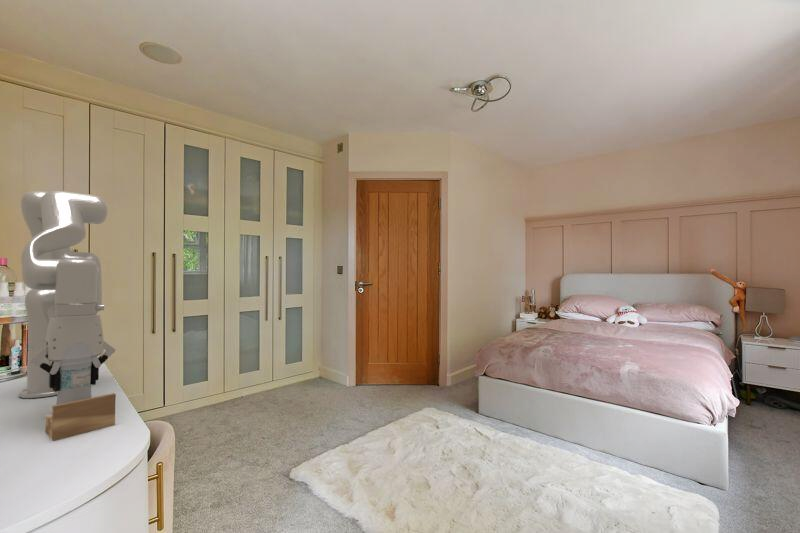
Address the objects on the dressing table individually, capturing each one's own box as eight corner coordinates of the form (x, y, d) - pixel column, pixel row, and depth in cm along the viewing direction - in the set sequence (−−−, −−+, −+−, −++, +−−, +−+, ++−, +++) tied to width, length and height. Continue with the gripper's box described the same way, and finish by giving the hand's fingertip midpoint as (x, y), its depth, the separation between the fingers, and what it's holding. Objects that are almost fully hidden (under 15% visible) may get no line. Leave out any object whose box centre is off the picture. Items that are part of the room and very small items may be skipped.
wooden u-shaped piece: (45, 431, 81) (46, 399, 82) (104, 417, 90) (105, 388, 90) (52, 440, 77) (53, 406, 77) (114, 424, 85) (115, 394, 85)
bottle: (70, 420, 83) (72, 331, 84) (46, 418, 85) (49, 331, 85) (99, 410, 90) (101, 327, 91) (77, 408, 91) (79, 327, 92)
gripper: (115, 307, 97) (114, 376, 97) (22, 312, 84) (20, 393, 83) (125, 309, 93) (123, 381, 92) (28, 314, 79) (25, 399, 78)
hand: (74, 386), depth 88 cm, fingers closed on bottle, 5 cm apart
